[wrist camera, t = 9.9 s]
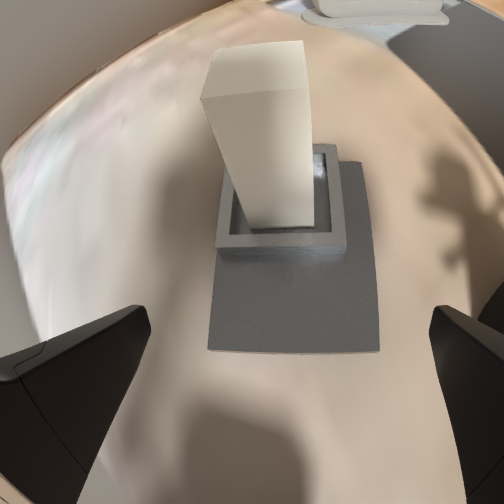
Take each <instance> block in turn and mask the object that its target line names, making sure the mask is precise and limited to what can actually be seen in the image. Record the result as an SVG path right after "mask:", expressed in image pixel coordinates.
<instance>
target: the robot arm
mask: <svg viewBox="0 0 504 504" xmlns="http://www.w3.org/2000/svg"><path fill="white" fill-rule="evenodd" d="M150 334H151V326H150V322H149V319H148V315H147V311H146V308H145V307H144V306H142V305H131V306H128V307H126V308H124V309H121V310H119V311H116V312H114V313H112V314H109V315H107V316H104V317H102V318H100V319H97V320H95V321H92V322H90V323H88V324H85V325H83V326H80V327H78V328H76V329H73V330H71V331H68V332H66V333H64V334H61V335H59V336H56V337H54V338H51V339H49V340H48V341H44V342H42V343H39V344H37V345H34V346H32V347H29V348H27V349H24V350H21V351H19V352H16V353H13V354H10V355H7V356H4V357H1V358H0V504H76V503H77V501H78V498H79V496H80V493H81V491H82V489H83V486H84V484H85V481H86V479H87V477H88V474H89V472H90V470H91V467H92V465H93V463H94V461H95V458H96V456H97V454H98V452H99V449H100V447H101V445H102V443H103V441H104V438H105V436H106V434H107V432H108V430H109V428H110V425H111V423H112V421H113V419H114V417H115V415H116V413H117V410H118V408H119V406H120V404H121V402H122V400H123V398H124V396H125V394H126V392H127V390H128V388H129V386H130V384H131V382H132V379H133V377H134V375H135V373H136V371H137V369H138V366H139V364H140V361H141V358H142V355H143V353H144V350H145V347H146V345H147V342H148V339H149V337H150ZM429 338H430V342H431V347H432V351H433V356H434V361H435V366H436V371H437V375H438V379H439V383H440V386H441V389H442V393H443V396H444V399H445V403H446V407H447V410H448V414H449V418H450V421H451V425H452V429H453V433H454V438H455V442H456V446H457V451H458V455H459V460H460V465H461V470H462V476H463V482H464V488H465V494H466V498H467V499H466V502H467V504H504V335H503V334H501V333H499V332H497V331H496V330H494V329H492V328H490V327H488V326H486V325H484V324H483V323H481V322H479V321H477V320H475V319H473V318H471V317H469V316H468V315H466V314H464V313H462V312H460V311H458V310H456V309H454V308H452V307H450V306H448V305H440V306H436V307H435V308H434V311H433V315H432V320H431V324H430V328H429Z"/></svg>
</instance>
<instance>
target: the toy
mask: <svg viewBox="0 0 504 504" xmlns="http://www.w3.org/2000/svg"><path fill="white" fill-rule="evenodd" d="M478 321H479V322H481V323H483V324H484V325H486V326H488V327H490V328H492V329H494V330H496V331H497V332H499V333H501V334H503V335H504V282H503V283H502V284H501V286H500V287H499V288H498V289H497V290H496V292H495V293H494V294H493V296H492V297H491V298H490V300H489V301H488V303H487V304H486V305H485V307H484V308H483V310H482V312H481V314H480V316H479V318H478Z"/></svg>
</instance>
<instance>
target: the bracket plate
mask: <svg viewBox="0 0 504 504" xmlns="http://www.w3.org/2000/svg"><path fill="white" fill-rule="evenodd" d="M312 150H313V182H314V227H307V228H266V229H250V227H249V224H248V222H247V219H246V217H245V214H244V211H243V209H242V206H241V203H240V201H239V198H238V196H237V193H236V190H235V188H234V185H233V183H232V180H231V177H230V175H229V172H228V170H227V167H226V164H225V170H224V177H223V184H222V192H221V199H220V207H219V215H218V223H217V231H216V239H215V247H214V248H215V249H216V251H217V258H216V267H215V276H214V286H213V296H212V306H211V316H210V327H209V338H208V350H210V351H219V352H236V353H258V354H356V353H377V352H379V351H380V346H379V314H378V296H377V282H376V269H375V258H374V248H373V239H372V231H371V223H370V215H369V208H368V201H367V194H366V188H365V182H364V176H363V170H362V165H361V162H338V156H337V149H336V145H312Z"/></svg>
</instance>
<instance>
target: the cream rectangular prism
mask: <svg viewBox="0 0 504 504" xmlns="http://www.w3.org/2000/svg"><path fill="white" fill-rule="evenodd" d="M200 100H201V102H202V105H203V107H204V110H205V113H206V115H207V118H208V120H209V123H210V125H211V128H212V131H213V133H214V136H215V138H216V141H217V144H218V146H219V149H220V151H221V154H222V157H223V159H224V162H225V164H226V167H227V170H228V172H229V175H230V177H231V180H232V183H233V185H234V188H235V190H236V193H237V196H238V198H239V201H240V203H241V206H242V209H243V211H244V214H245V217H246V219H247V222H248V224H249V227H250V229H266V228H307V227H314V182H313V150H312V128H311V110H310V94H309V83H308V75H307V68H306V60H305V53H304V46H303V40H300V41H283V42H270V43H260V44H251V45H242V46H235V47H228V48H222V49H216V50H215V53H214V56H213V59H212V62H211V65H210V68H209V71H208V75H207V78H206V81H205V84H204V88H203V91H202V94H201V98H200Z"/></svg>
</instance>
